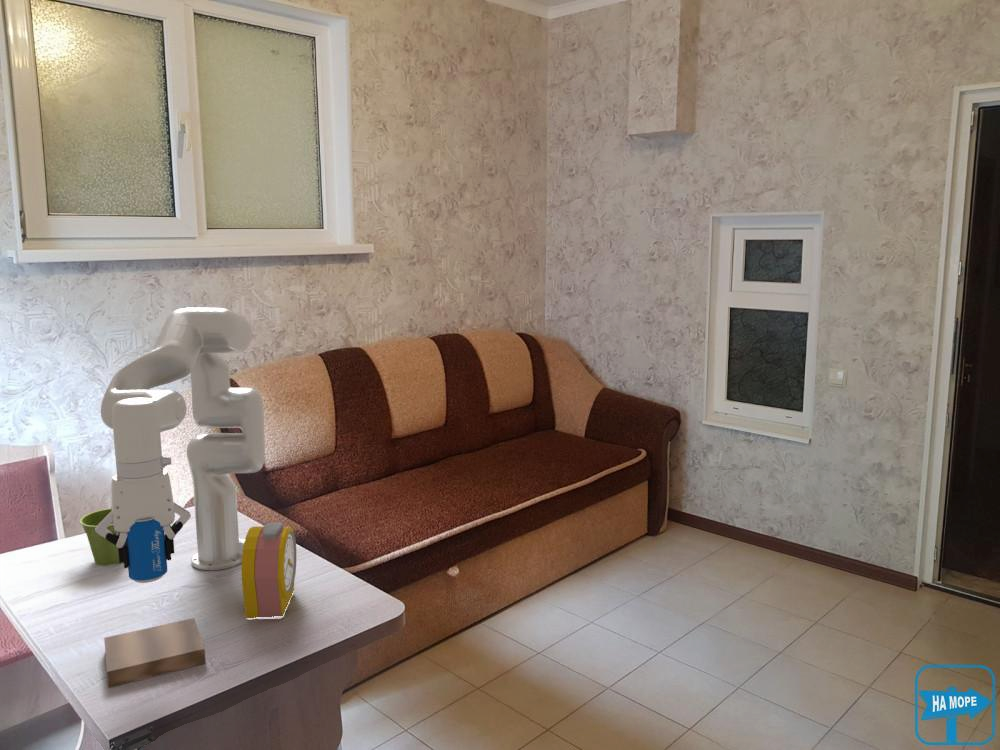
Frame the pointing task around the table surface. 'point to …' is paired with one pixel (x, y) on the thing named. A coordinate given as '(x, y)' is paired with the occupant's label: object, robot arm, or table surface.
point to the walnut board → (153, 651)
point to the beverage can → (146, 551)
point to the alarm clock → (268, 569)
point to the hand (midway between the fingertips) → (147, 560)
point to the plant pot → (100, 538)
